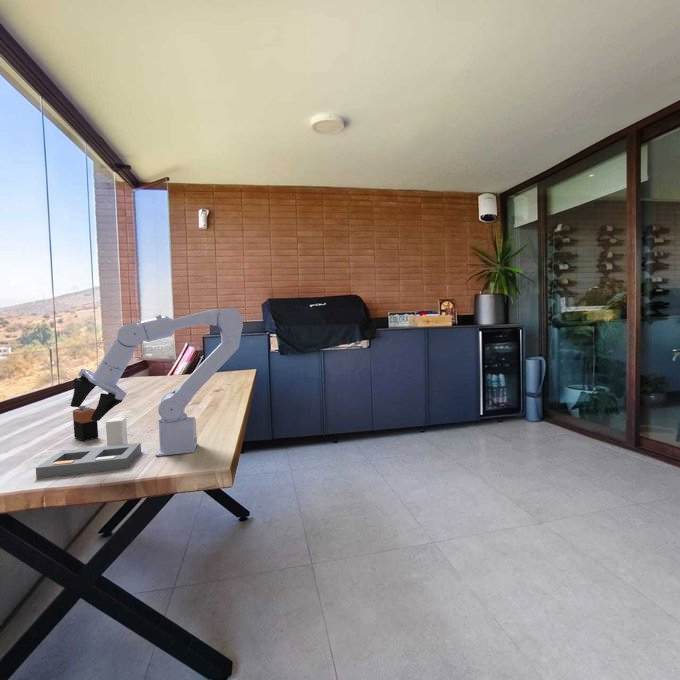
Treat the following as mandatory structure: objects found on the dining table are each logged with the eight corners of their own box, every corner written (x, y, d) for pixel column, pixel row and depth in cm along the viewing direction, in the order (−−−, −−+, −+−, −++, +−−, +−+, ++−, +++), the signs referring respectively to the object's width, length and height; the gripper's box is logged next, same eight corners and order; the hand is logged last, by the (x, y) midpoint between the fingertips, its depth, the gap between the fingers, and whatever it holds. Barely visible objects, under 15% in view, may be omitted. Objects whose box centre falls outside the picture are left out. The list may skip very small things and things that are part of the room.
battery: (89, 434, 119) (87, 404, 118) (99, 437, 115) (97, 406, 114) (73, 438, 115) (71, 407, 114) (83, 441, 111) (81, 409, 111)
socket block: (141, 451, 101) (140, 442, 100) (127, 468, 89) (126, 457, 89) (62, 459, 96) (61, 449, 96) (36, 478, 84) (35, 467, 84)
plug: (127, 443, 108) (126, 417, 107) (123, 448, 104) (121, 420, 104) (112, 445, 107) (111, 418, 106) (107, 449, 103) (105, 422, 103)
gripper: (80, 351, 93) (51, 399, 91) (121, 374, 89) (91, 425, 87) (103, 356, 99) (75, 401, 97) (141, 379, 95) (114, 426, 93)
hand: (84, 413), depth 92 cm, fingers open, 7 cm apart
